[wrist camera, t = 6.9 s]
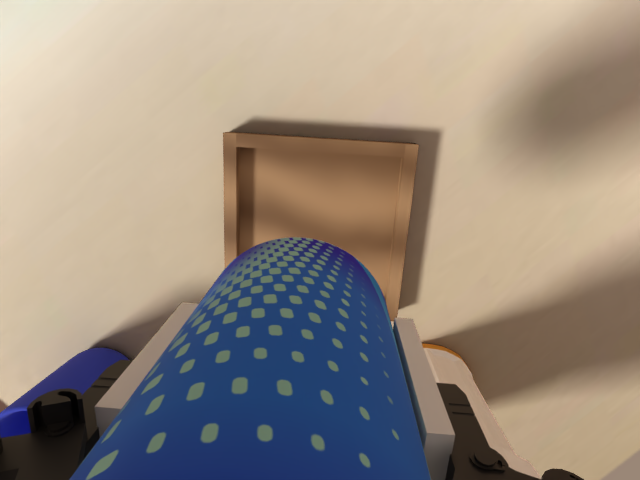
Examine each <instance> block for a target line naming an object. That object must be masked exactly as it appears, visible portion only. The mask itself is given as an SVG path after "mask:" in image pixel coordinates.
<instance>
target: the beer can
mask: <svg viewBox="0 0 640 480" xmlns="http://www.w3.org/2000/svg"><path fill="white" fill-rule="evenodd" d="M69 480H431V477H430V473H429V469H428V465H427V461H426V457H425V453H424V450H423V446H422V442H421V438H420V434H419V430H418V426H417V422H416V418H415V414H414V411H413V407H412V403H411V399H410V395H409V391H408V387H407V383H406V379H405V375H404V372H403V368H402V364H401V360H400V356H399V352H398V348H397V344H396V340H395V336H394V333H393V329H392V325H391V321H390V317H389V313H388V309H387V305H386V301H385V298H384V296H383V293H382V291H381V289H380V287H379V285H378V283H377V281H376V280H375V278H374V277H373V275H372V274H371V273H370V272H369V270H368V269H367V268H366V267H365V266H364V265H363V264H362V263H361V262H360V261H359V260H357V259H356V258H355V257H354V256H352V255H351V254H349V253H348V252H346V251H344V250H343V249H341V248H339V247H337V246H335V245H332V244H330V243H327V242H324V241H320V240H316V239H310V238H301V237H290V238H280V239H274V240H270V241H267V242H264V243H261V244H258V245H256V246H254V247H252V248H250V249H248V250H247V251H245V252H243V253H242V254H241V255H239V256H238V257H237V258H235V259H234V260H233V261H232V262H231V263H230V264H229V265H228V266H227V267H226V268H225V270H224V271H223V272H222V273H221V275H220V276H219V278H218V279H217V280H216V282H215V283H214V284H213V286H212V287H211V288H210V290H209V291H208V292H207V294H206V295H205V297H204V298H203V299H202V301H201V302H200V303H199V305H198V306H197V307H196V309H195V310H194V311H193V313H192V314H191V315H190V317H189V318H188V320H187V321H186V322H185V324H184V325H183V326H182V328H181V329H180V330H179V332H178V333H177V334H176V336H175V337H174V338H173V340H172V341H171V343H170V344H169V345H168V347H167V348H166V349H165V351H164V352H163V353H162V355H161V356H160V357H159V359H158V360H157V362H156V363H155V364H154V366H153V367H152V368H151V370H150V371H149V372H148V374H147V375H146V376H145V378H144V379H143V380H142V382H141V383H140V385H139V386H138V387H137V389H136V390H135V391H134V393H133V394H132V395H131V397H130V398H129V399H128V401H127V402H126V403H125V405H124V406H123V408H122V409H121V410H120V412H119V413H118V414H117V416H116V417H115V418H114V420H113V421H112V422H111V424H110V425H109V427H108V428H107V429H106V431H105V432H104V433H103V435H102V436H101V437H100V439H99V440H98V441H97V443H96V444H95V445H94V447H93V448H92V450H91V451H90V452H89V454H88V455H87V456H86V458H85V459H84V460H83V462H82V463H81V464H80V466H79V467H78V468H77V470H76V471H75V473H74V474H73V475H72V477H71V478H70V479H69Z"/></svg>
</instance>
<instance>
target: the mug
mask: <svg viewBox="0 0 640 480" xmlns="http://www.w3.org/2000/svg"><path fill="white" fill-rule="evenodd" d="M119 360H129V359H128V358H127V357H126V356H124V355H123V354H121V353H120V352H118V351H115V350H112V349H109V348H92V349H88V350H85V351H83V352H81V353H79V354H77V355H76V356H74V357H73V358H72V359H70V360H69V361H68V362H66V363H65V364H64V365H62V366H61V367H60V368H58V369H57V370H56V371H54V372H53V373H52V374H50V375H49V376H48V377H46V378H45V379H44V380H43V381H41V382H40V383H39V384H37V385H36V386H35V387H33V388H32V389H31V390H29V391H28V392H27V393H25V394H24V395H23V396H21V397H20V398H19V399H18V400H16V401H15V402H14V403H12V404H11V405H10V406H8V407H7V408H6V409H4V410H3V411H2V412H1V413H0V436H1V438H3V437H10V436H16V435H23V434H28V433H31V430H30V424H29V419H28V414H27V407H28V406H29V405H30V403H31V402H32V401H33V400H35V399H36V398H37V397H39V396H41V395H43V394H45V393H47V392H50V391H53V390H57V389H65V388H70V389H75V390H78V391H79V392H80V393H82V395H83V394H84V392H85V391H86V390H87V389H88V388H89V387H91V385H92V384H93V383H94V382H95V380H96V379H98V377H99V376H100V375H101V374H102V373H103V372H104V371H105V370H106V368H107V367H109V366H111V365H112V364H114V363H116V362H117V361H119Z"/></svg>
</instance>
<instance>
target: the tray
mask: <svg viewBox="0 0 640 480" xmlns="http://www.w3.org/2000/svg"><path fill="white" fill-rule="evenodd" d="M418 148H419V145H418V144H415V143H400V142H384V141H368V140H352V139H336V138H320V137H304V136H288V135H272V134H256V133H240V132H225V133H223V154H224V244H225V268H226V267H227V266H228V265H229V264H230V263H231V262H232V261H233V260H234V259H235V258H237V257H238V256H239V255H241V254H242V253H243V252H245V251H247V250H248V249H250V248H252V247H254V246H256V245H258V244H261V243H264V242H267V241H270V240H274V239H280V238H290V237H301V238H310V239H316V240H320V241H324V242H327V243H330V244H332V245H335V246H337V247H339V248H341V249H343V250H344V251H346V252H348V253H349V254H351V255H352V256H354V257H355V258H356V259H357V260H359V261H360V262H361V263H362V264H363V265H364V266H365V267H366V268H367V269H368V270H369V272H370V273H371V274H372V275H373V277H374V278H375V280H376V281H377V283H378V285H379V287H380V289H381V291H382V293H383V296H384V298H385V301H386V305H387V309H388V313H389V317H390V321H394V319H395V318H397V314H398V306H399V298H400V290H401V282H402V274H403V266H404V259H405V251H406V243H407V235H408V227H409V219H410V211H411V203H412V196H413V188H414V180H415V172H416V164H417V156H418Z"/></svg>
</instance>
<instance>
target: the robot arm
mask: <svg viewBox="0 0 640 480" xmlns="http://www.w3.org/2000/svg"><path fill="white" fill-rule="evenodd" d="M198 305H199V303H186V302H182V303H181V304H180V305H179V306H178V308H177V309H176V310H175V311H174V312H173V313H172V315H171V316H170V317H169V318H168V319H167V321H166V322H165V323H164V324H163V325H162V327H161V328H160V329H159V330H158V331H157V333H156V334H155V335H154V336H153V337H152V339H151V340H150V341H149V342H148V343H147V345H146V346H145V347H144V348H143V349H142V351H141V352H140V353H139V354H138V355H137V356H136V358H135V359H134V360H133V361H132V360H119V361H117V362H116V363H114V364H112V365H111V366H109V367H107V368H106V370H105V371H104V372H103V373H102V374H101V375H100V376H99V377H98V379H96V380H95V382H94V383H93V384H92V385H91V387H89V388H88V389H87V390H86V391H85V392H84V394H83V395H82V393H80V392H79V391H78V390H75V389H70V388H65V389H57V390H53V391H50V392H47V393H45V394H43V395H41V396H39V397H37V398H36V399H35V400H33V401H32V402H31V403H30V405H29V406H28V407H27V414H28V419H29V424H30V430H31V433H28V434H23V435H16V436H10V437H3V438H1V436H0V480H69V479H70V478H71V477H72V475H73V474H74V473H75V471H76V470H77V468H78V467H79V466H80V464H81V463H82V462H83V460H84V459H85V458H86V456H87V455H88V454H89V452H90V451H91V450H92V448H93V447H94V445H95V444H96V443H97V441H98V440H99V439H100V437H101V436H102V435H103V433H104V432H105V431H106V429H107V428H108V427H109V425H110V424H111V422H112V421H113V420H114V418H115V417H116V416H117V414H118V413H119V412H120V410H121V409H122V408H123V406H124V405H125V403H126V402H127V401H128V399H129V398H130V397H131V395H132V394H133V393H134V391H135V390H136V389H137V387H138V386H139V385H140V383H141V382H142V380H143V379H144V378H145V376H146V375H147V374H148V372H149V371H150V370H151V368H152V367H153V366H154V364H155V363H156V362H157V360H158V359H159V357H160V356H161V355H162V353H163V352H164V351H165V349H166V348H167V347H168V345H169V344H170V343H171V341H172V340H173V338H174V337H175V336H176V334H177V333H178V332H179V330H180V329H181V328H182V326H183V325H184V324H185V322H186V321H187V320H188V318H189V317H190V315H191V314H192V313H193V311H194V310H195V309H196V307H197V306H198ZM393 333H394V336H395V340H396V344H397V348H398V352H399V356H400V360H401V364H402V368H403V372H404V375H405V379H406V383H407V387H408V391H409V395H410V399H411V403H412V407H413V411H414V414H415V418H416V422H417V426H418V430H419V434H420V438H421V442H422V446H423V450H424V453H425V457H426V461H427V465H428V469H429V473H430V477H431V480H584V479H582V478H580V477H579V476H577V475H575V474H574V473H571V472H568V471H565V470H563V469H550V470H547V471H545V473H544V474H543V476H542V478H541V479H539V478H536V477H533V476H530V475H527V474H523V473H521V472H518V471H516V470H513V469H512V468H510V467H509V465H508V463H507V462H506V460H505V459H504V457H503V456H502V455H501V454H499V453H498V452H497V451H496V450H494V449H492V448H490V446H489V444H488V442H487V440H486V437H485V435H484V433H483V431H482V429H481V427H480V424H479V422H478V420H477V418H476V416H475V413H474V411H473V409H472V407H471V405H470V403H469V400H468V398H467V396H466V394H465V393H464V392H463V391H462V390H461V389H460V388H459V387H458V386H457V385H456V384H448V383H436V381H435V378H434V376H433V373H432V370H431V368H430V365H429V362H428V359H427V357H426V354H425V351H424V349H423V346H422V343H421V340H420V338H419V335H418V332H417V330H416V327H415V324H414V321H413V319H407V318H395V319H394V327H393Z"/></svg>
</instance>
